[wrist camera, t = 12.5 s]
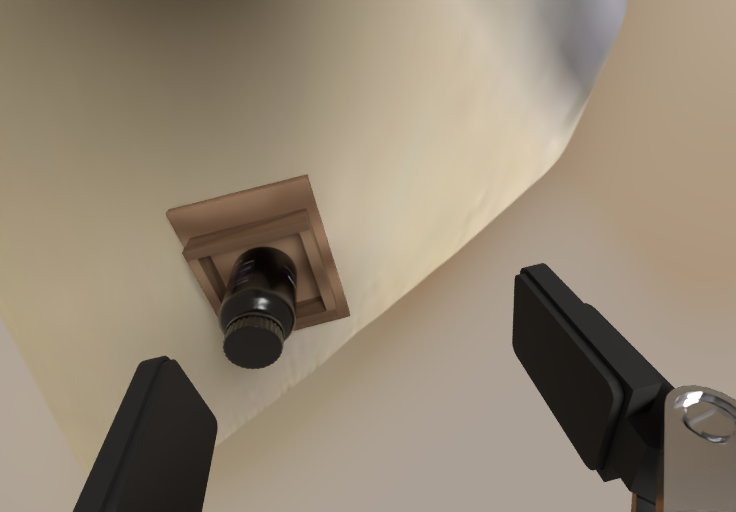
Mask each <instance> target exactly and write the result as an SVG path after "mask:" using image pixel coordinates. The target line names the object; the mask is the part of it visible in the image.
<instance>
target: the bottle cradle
mask: <svg viewBox="0 0 736 512" xmlns="http://www.w3.org/2000/svg"><path fill="white" fill-rule="evenodd" d="M166 215H167V217H168V219H169V221H170V222H171V224H172V226H173V228H174V230H175V232H176V233H177V235H178V237H179V239H180V241H181V243H182V244H183V246H184V250H183V252H182V254H183V255H184V257H185V259H186V261H187V263H188V264H189V266H190V268H191V270H192V272H193V273H194V275H195V277H196V279H197V281H198V282H199V284H200V286H201V288H202V290H203V291H204V293H205V295H206V297H207V299H208V300H209V302H210V304H211V306H212V308H213V309H214V311H215V313H216V315H217V317H218V318H219V311H220V307H221V304H222V301H223V297H224V294H225V291H226V288H227V284H228V281H229V278H230V275H231V272H232V269H233V266H234V263H235V262H236V260H237V258H238V257H239V256H240V255H241V254H242V253H244V252H245V251H247V250H249V249H252V248H255V247H262V246H267V247H273V248H276V249H279V250H281V251H283V252H284V253H286V254H287V255H288V256H289V257H290V258H291V259H292V260H293V262H294V264H295V266H296V269H297V308H296V323H295V327H294V329H293V331H295V330H298V329H302V328H306V327H310V326H314V325H318V324H321V323H325V322H329V321H333V320H337V319H341V318H344V317H348V316H350V313H349V309H348V305H347V302H346V299H345V296H344V292H343V289H342V286H341V283H340V279H339V276H338V273H337V270H336V266H335V263H334V260H333V257H332V253H331V250H330V247H329V244H328V240H327V237H326V234H325V231H324V227H323V224H322V221H321V218H320V214H319V211H318V208H317V205H316V201H315V198H314V195H313V192H312V188H311V185H310V182H309V179H308V175H303V176H299V177H295V178H291V179H287V180H284V181H280V182H276V183H272V184H268V185H264V186H260V187H256V188H252V189H248V190H244V191H240V192H236V193H233V194H229V195H225V196H221V197H217V198H213V199H209V200H205V201H201V202H197V203H193V204H189V205H185V206H182V207H178V208H174V209H170V210H168V212H167V213H166Z"/></svg>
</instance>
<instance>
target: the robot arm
mask: <svg viewBox="0 0 736 512" xmlns="http://www.w3.org/2000/svg"><path fill="white" fill-rule="evenodd" d="M512 340H513V341H512V344H513V348H514V352H515V354H516V356H517V357H518V359H519V360H520V362H521V364H522V365H523V367H524V368H525V370H526V371H527V373H528V375H529V376H530V378H531V380H532V381H533V383H534V384H535V386H536V387H537V389H538V391H539V392H540V394H541V395H542V397H543V398H544V400H545V402H546V403H547V405H548V406H549V408H550V410H551V411H552V413H553V414H554V416H555V417H556V419H557V421H558V422H559V424H560V425H561V427H562V429H563V430H564V432H565V433H566V435H567V437H568V438H569V440H570V441H571V443H572V444H573V446H574V447H575V449H576V451H577V452H578V454H579V455H580V457H581V459H582V460H583V462H584V463H585V465H586V466H587V467H588V468H589V469H590V470H597V472H598V474H599V475H600V477H601V478H602V480H603V481H604V482H607V481H610V480H614V479H618V478H621V479H622V481H623V482H624V484H625V485H626V487H627V488H628V490H629V491H631V492H632V505H631V512H736V400H735V399H733V398H731V397H730V396H728V395H726V394H724V393H722V392H719V391H716V390H713V389H711V388H707V387H701V386H696V385H692V386H681V387H678V388H674V387H673V386H672V385H671V384H670V383H669V382H668V381H667V380H666V379H665V378H664V377H663V376H662V375H661V374H660V373H659V372H658V371H657V370H656V369H655V368H654V367H653V366H652V365H651V364H650V363H649V362H648V361H647V360H646V359H645V358H644V357H643V356H642V355H641V354H640V353H639V352H638V351H637V350H636V349H635V348H634V347H633V346H632V345H631V344H630V343H629V342H628V341H627V340H626V339H625V338H624V337H623V336H622V335H621V334H620V333H619V332H618V331H617V330H616V329H615V328H614V327H613V326H612V325H611V324H610V323H609V322H608V321H607V320H606V319H605V318H604V317H603V316H602V315H601V314H600V313H599V312H598V311H597V310H596V309H595V308H594V307H593V306H591V305H589V304H587V303H583V302H582V301H581V300H580V299H579V298H578V297H577V296H576V295H575V294H574V293H573V291H571V289H570V288H569V287H568V286H566V284H565V283H563V281H562V280H561V279H560V278H559V277H558V276H557V275H556V274H555V273H554V272H553V271H552V270H551V269H550V268H549V267H548V266H547V265H546V264H544V263H542V264H538V265H533V266H529V267H525V268H522V269H521V271H520V274H519V275H516V276H515V286H514V313H513V339H512ZM216 435H217V421H216V418H215V416H214V415H213V413H212V412H211V410H210V409H209V407H208V406H207V404H206V403H205V402H204V400H203V399H202V397H201V396H200V394H199V393H198V391H197V390H196V388H195V387H194V386H193V384H192V383H191V381H190V380H189V378H188V377H187V375H186V374H185V372H184V371H183V370H182V368H181V367H180V365H179V364H178V362H177V361H176V360H174V359H173V360H170V359H169V358H168V357H167V356H162V357H158V358H154V359H149V360H145V361H142V362H141V363H140V364H139V366H138V367H137V370H136V372H135V374H134V376H133V379H132V381H131V383H130V385H129V387H128V390H127V392H126V394H125V396H124V399H123V401H122V403H121V405H120V408H119V410H118V412H117V414H116V416H115V419H114V421H113V423H112V425H111V428H110V430H109V432H108V434H107V436H106V439H105V441H104V443H103V445H102V448H101V450H100V452H99V454H98V457H97V459H96V461H95V463H94V465H93V468H92V470H91V472H90V474H89V477H88V479H87V481H86V483H85V485H84V488H83V490H82V492H81V495H80V497H79V499H78V501H77V503H76V506H75V508H74V510H73V512H202V508H203V502H204V497H205V492H206V487H207V482H208V476H209V471H210V466H211V460H212V455H213V450H214V445H215V440H216Z"/></svg>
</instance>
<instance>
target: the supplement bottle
mask: <svg viewBox="0 0 736 512" xmlns="http://www.w3.org/2000/svg"><path fill="white" fill-rule="evenodd" d="M296 308H297V269H296V266H295V264H294V262H293V260H292V259H291V258H290V257H289V256H288V255H287V254H286V253H284V252H283V251H281V250H279V249H276V248H273V247H267V246H262V247H255V248H252V249H249V250H247V251H245V252H244V253H242V254H241V255H240V256H239V257H238V258H237V260H236V262H235V263H234V266H233V269H232V272H231V275H230V278H229V281H228V284H227V288H226V291H225V294H224V297H223V301H222V304H221V307H220V311H219V325H220V328H221V330H222V332H223V334H224V335H225V336H224V337H225V338H224V342H223V343H224V344H223V349H224V353H225V354H226V357H227V358H228V360H230V361H231V362H232V363H234V364H236V365H237V366H240V367H242V368H247V369H259V368H264V367H266V366H269V365H270V364H273V363H274V362H275V361H277V359H278V358H279V357H280V354H281V353H282V349H283V342H284V341H285V340H286V339H287V338H288V337H289V336H290V335H291V333H292V331H293V329H294V327H295V323H296Z"/></svg>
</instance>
